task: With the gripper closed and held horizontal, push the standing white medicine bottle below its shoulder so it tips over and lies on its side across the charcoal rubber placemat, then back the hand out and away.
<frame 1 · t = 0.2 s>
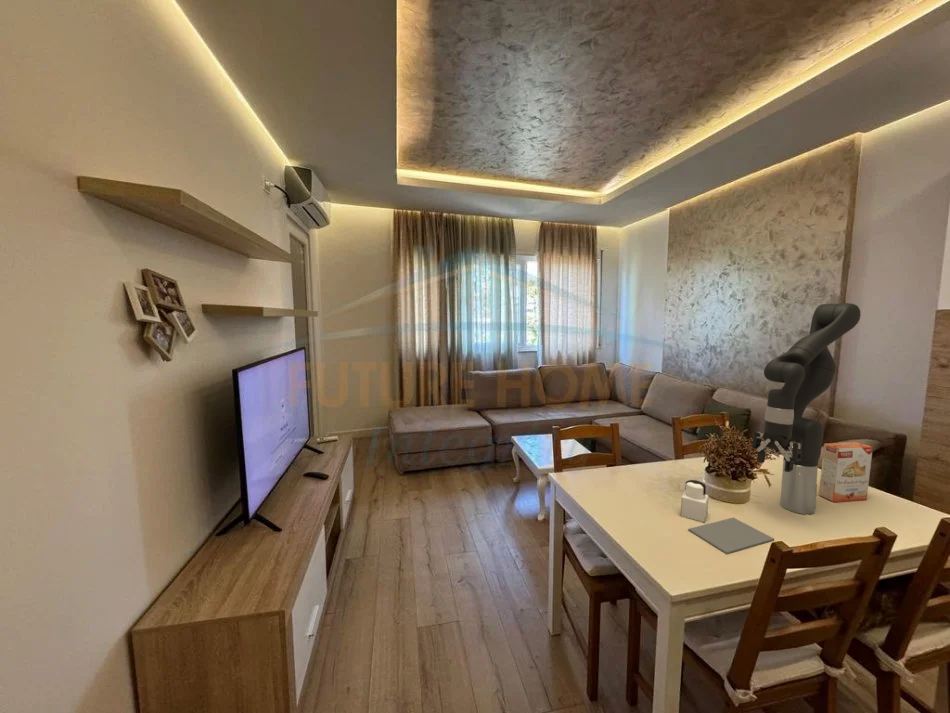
hand: (773, 466, 126), 18 cm above the table, tool pointing down, fingers open, 8 cm apart
medicine bottle: (694, 515, 129), on the table
placemat: (730, 535, 117), on the table
cracker box: (842, 498, 139), on the table
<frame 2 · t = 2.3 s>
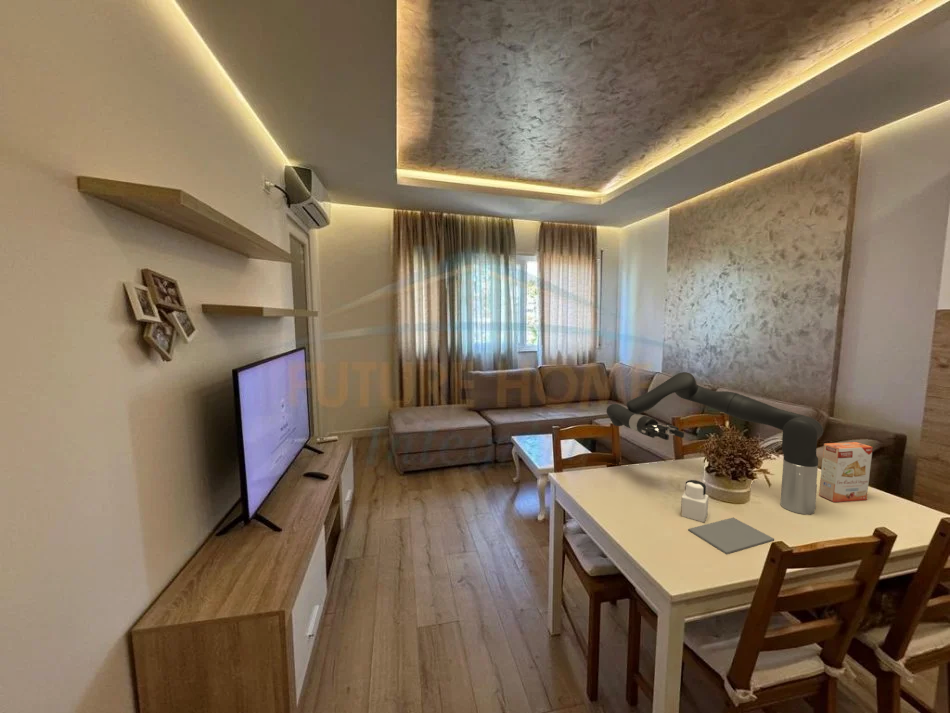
hand: (675, 436, 140), 24 cm above the table, tool horizontal, fingers open, 7 cm apart
nothing on the table moved.
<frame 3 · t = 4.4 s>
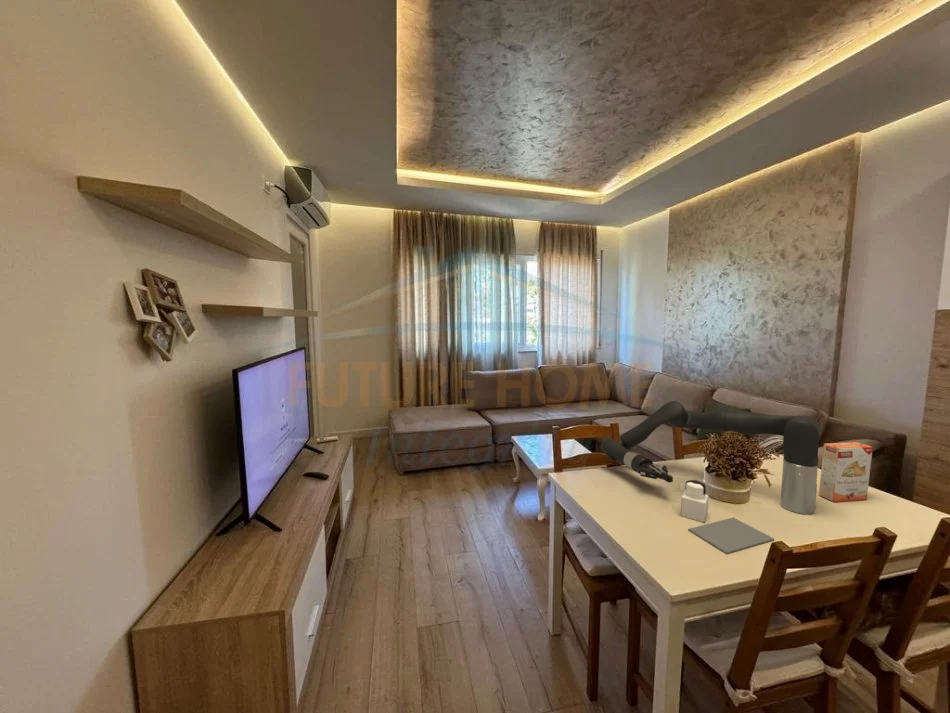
hand: (671, 479, 138), 9 cm above the table, tool horizontal, fingers closed
nothing on the table moved.
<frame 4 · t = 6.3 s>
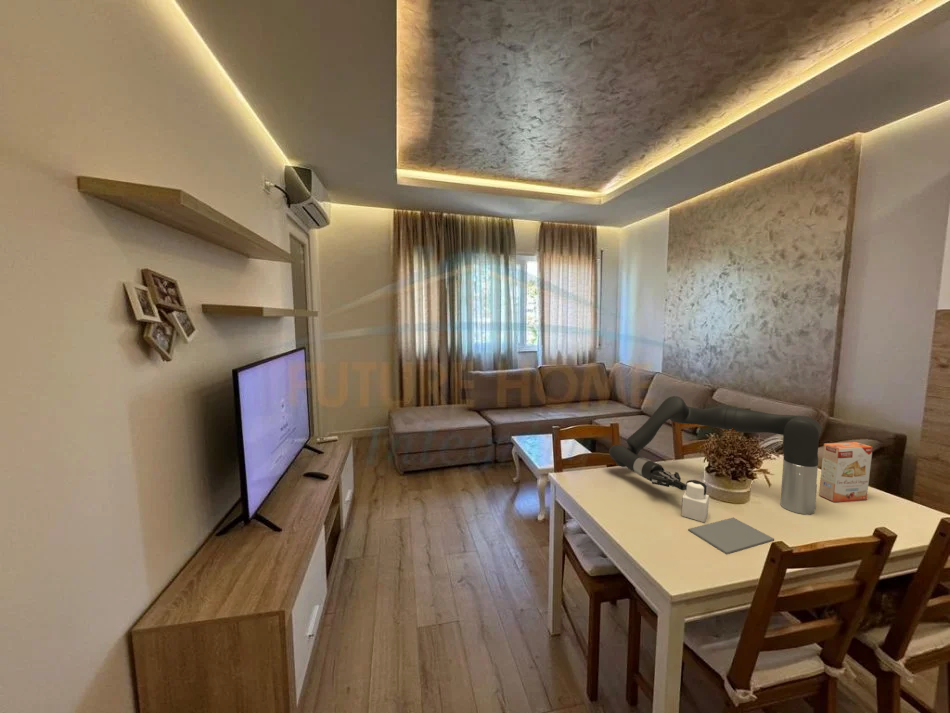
hand: (684, 487, 133), 8 cm above the table, tool horizontal, fingers closed
medicine bottle: (694, 515, 129), on the table, touching gripper
everything else where it was.
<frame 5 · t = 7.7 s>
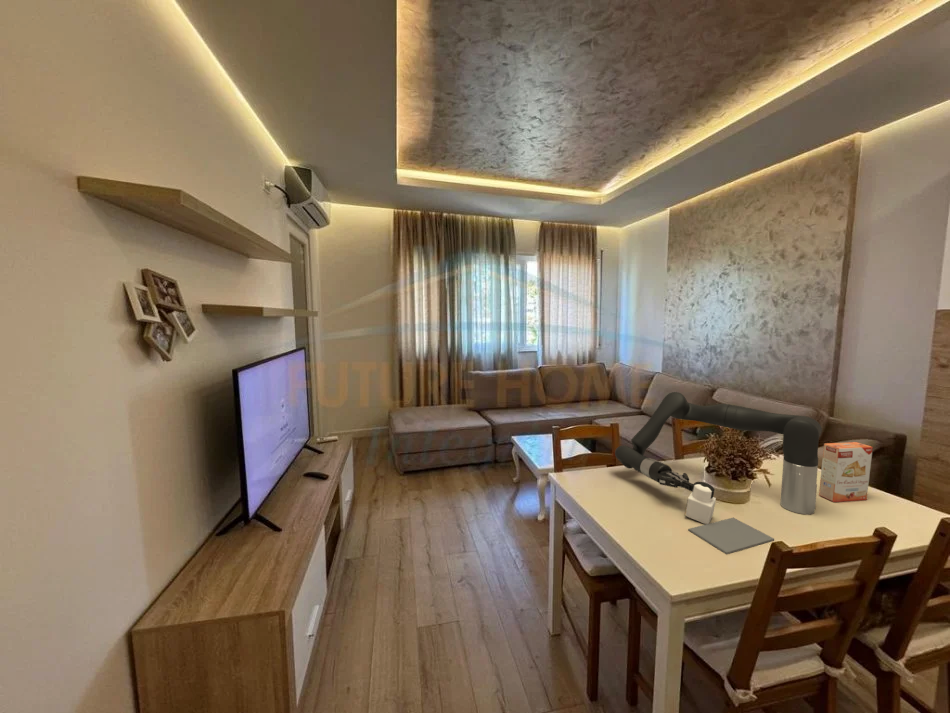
hand: (693, 488, 129), 9 cm above the table, tool horizontal, fingers closed
medicine bottle: (698, 516, 128), on the table, touching gripper, placemat
everything else where it was.
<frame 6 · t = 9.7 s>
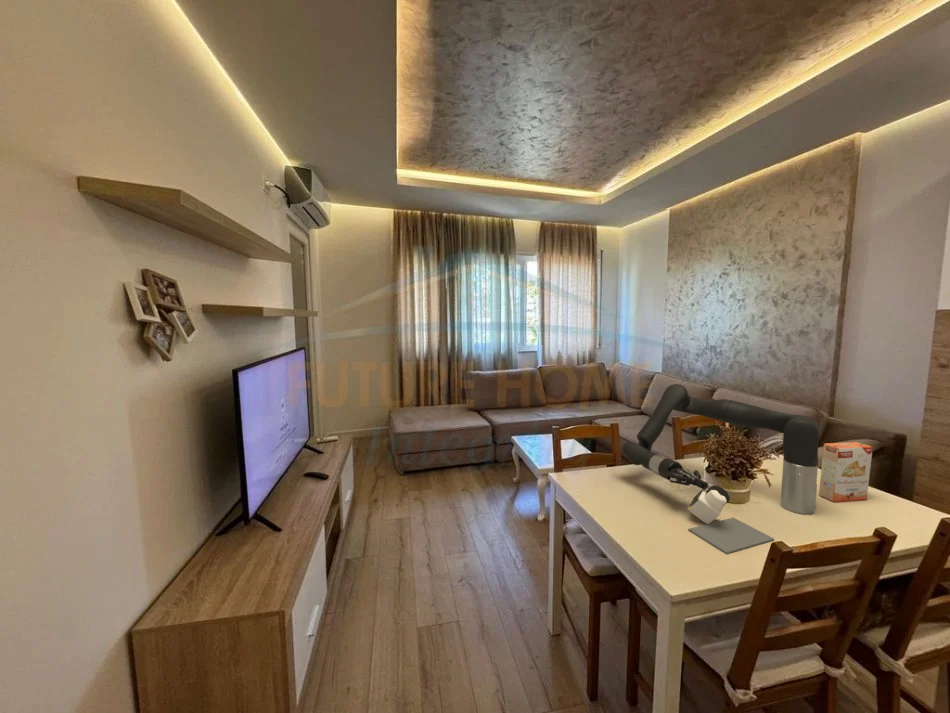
hand: (706, 486, 124), 12 cm above the table, tool horizontal, fingers closed
medicine bottle: (700, 511, 127), point 3 cm above the table, touching gripper, placemat
everything else where it was.
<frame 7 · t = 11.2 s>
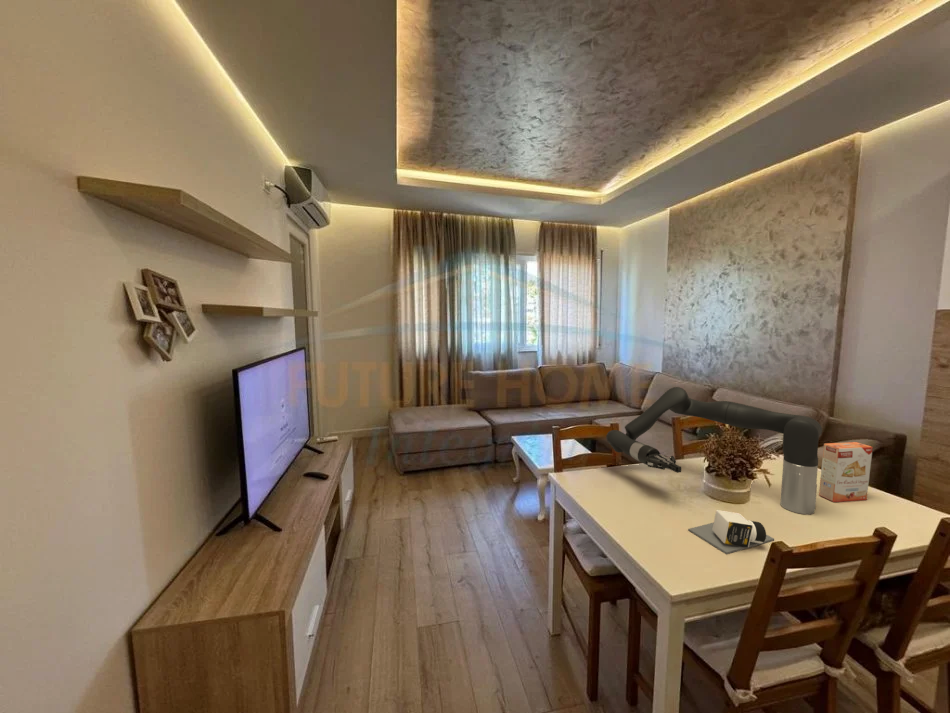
hand: (679, 470, 134), 14 cm above the table, tool horizontal, fingers closed
medicine bottle: (718, 525, 114), point 5 cm above the table, touching placemat
everything else where it was.
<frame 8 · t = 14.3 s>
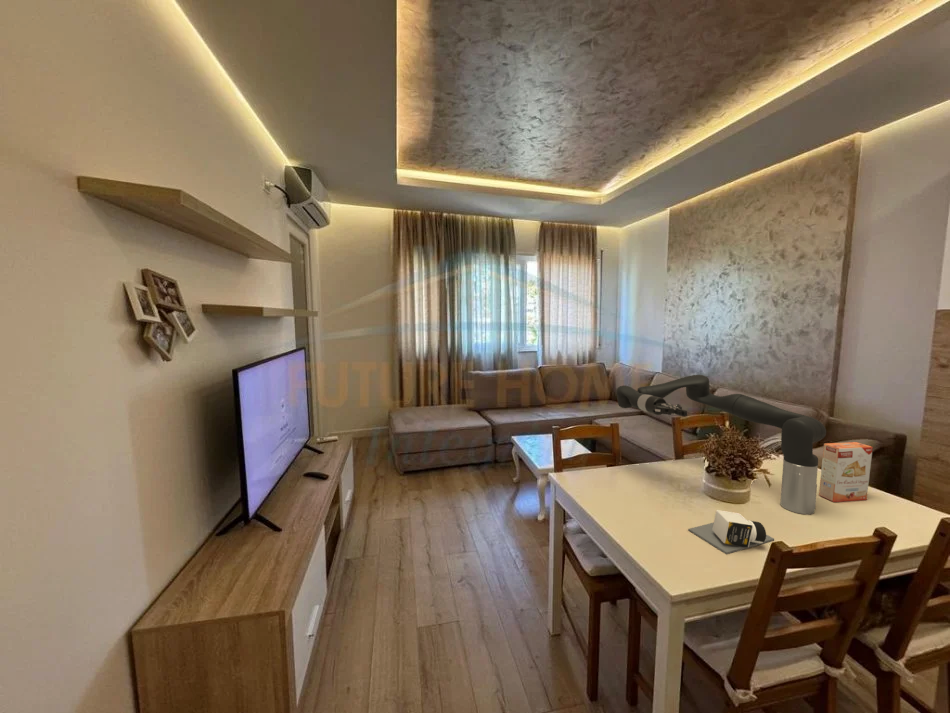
hand: (685, 413, 142), 32 cm above the table, tool horizontal, fingers closed
nothing on the table moved.
at the end: medicine bottle tilted 97°; medicine bottle inside the target area (9.8 cm from its centre), point 5.1 cm above the table; medicine bottle touching placemat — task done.
